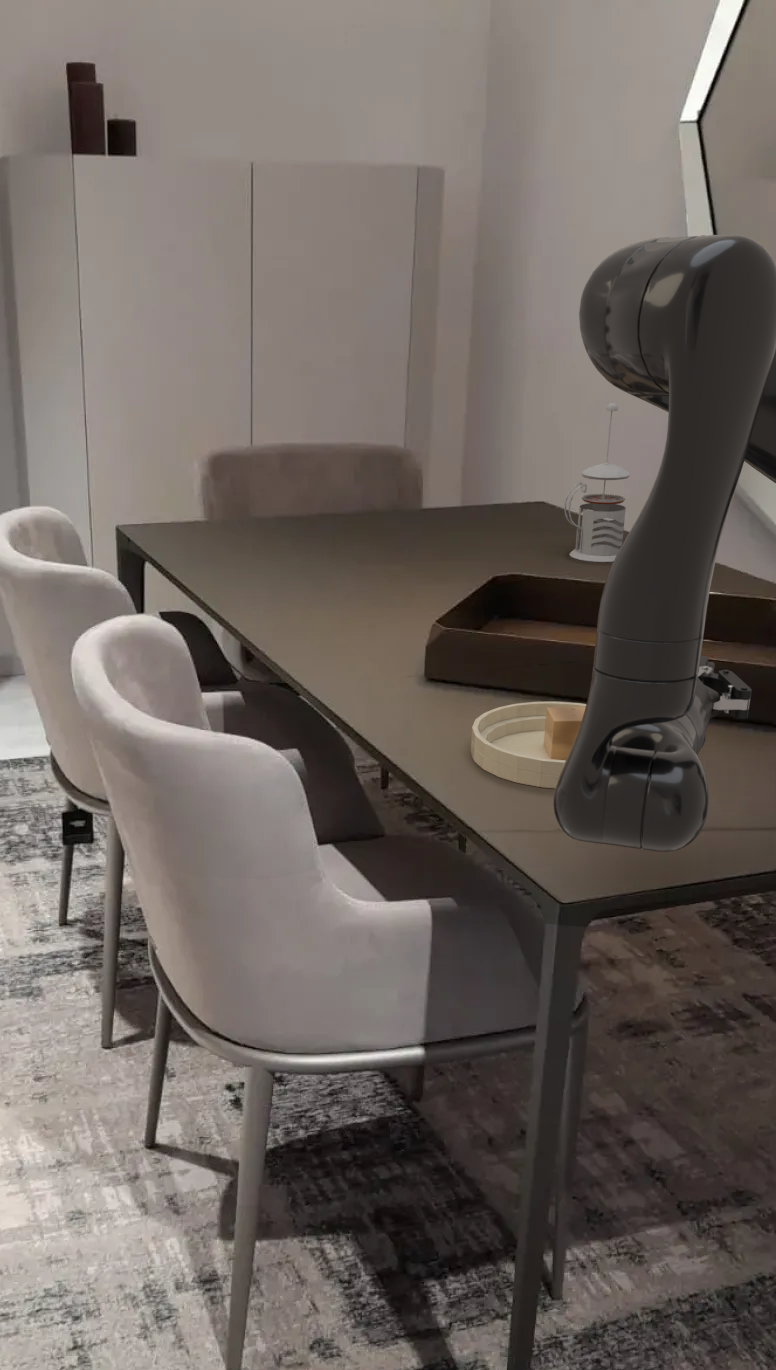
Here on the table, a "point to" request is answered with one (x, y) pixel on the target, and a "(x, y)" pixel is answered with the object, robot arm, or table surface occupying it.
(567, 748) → the block
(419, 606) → the table surface
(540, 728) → the round cream tray
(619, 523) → the french press
